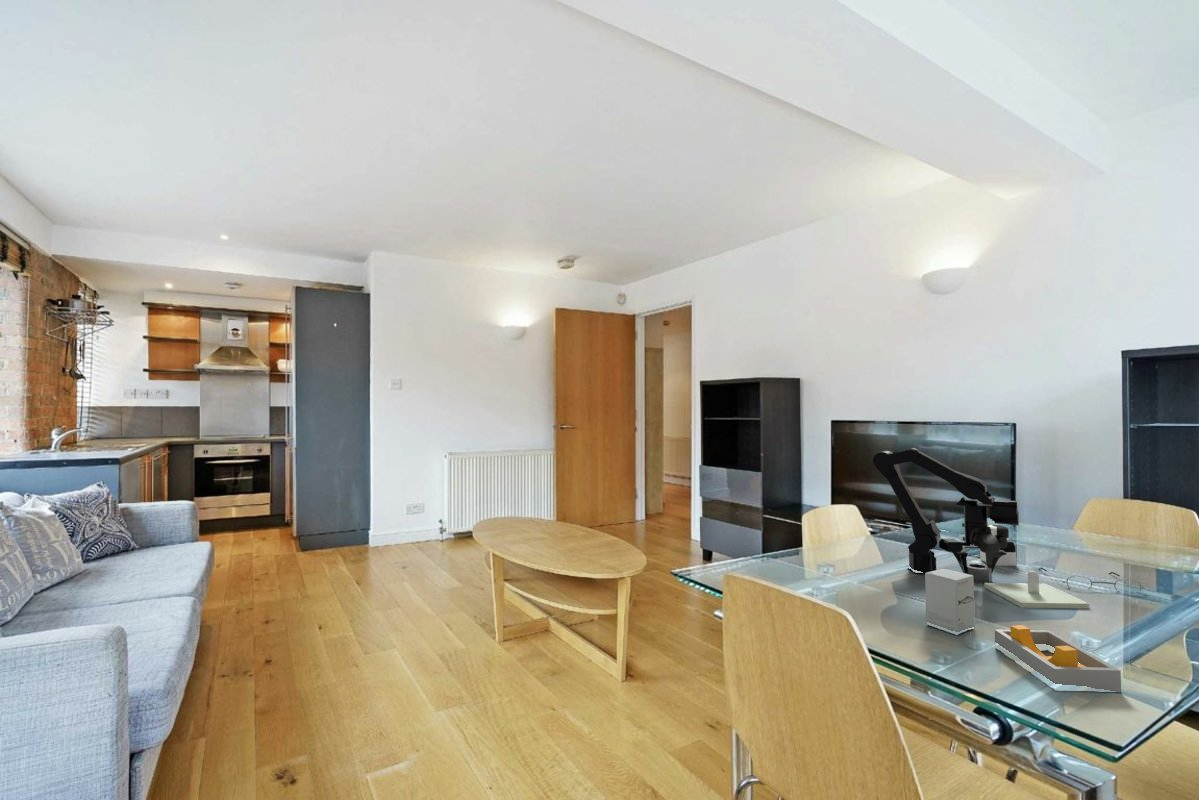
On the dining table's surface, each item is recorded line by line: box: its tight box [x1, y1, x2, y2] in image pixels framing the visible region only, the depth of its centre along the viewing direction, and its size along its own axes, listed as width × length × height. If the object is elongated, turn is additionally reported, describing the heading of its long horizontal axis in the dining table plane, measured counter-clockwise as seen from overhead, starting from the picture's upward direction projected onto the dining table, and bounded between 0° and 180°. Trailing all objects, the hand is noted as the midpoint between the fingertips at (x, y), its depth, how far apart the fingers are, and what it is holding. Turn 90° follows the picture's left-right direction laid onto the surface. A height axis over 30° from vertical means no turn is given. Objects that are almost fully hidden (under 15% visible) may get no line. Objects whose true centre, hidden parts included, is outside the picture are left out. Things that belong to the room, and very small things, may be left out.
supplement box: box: [924, 568, 976, 632], centre depth 130 cm, size 7×7×13 cm
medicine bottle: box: [979, 524, 1017, 567], centre depth 180 cm, size 7×7×12 cm
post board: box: [983, 570, 1090, 609], centre depth 148 cm, size 16×16×7 cm
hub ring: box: [967, 562, 993, 584], centre depth 164 cm, size 6×6×4 cm
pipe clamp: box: [1009, 624, 1086, 667], centre depth 109 cm, size 12×4×6 cm, turn 6°
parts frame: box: [994, 628, 1122, 693], centre depth 109 cm, size 11×18×4 cm, turn 174°
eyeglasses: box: [1038, 567, 1146, 592], centre depth 161 cm, size 18×19×4 cm
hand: (977, 574), depth 164 cm, fingers closed on hub ring, 6 cm apart
